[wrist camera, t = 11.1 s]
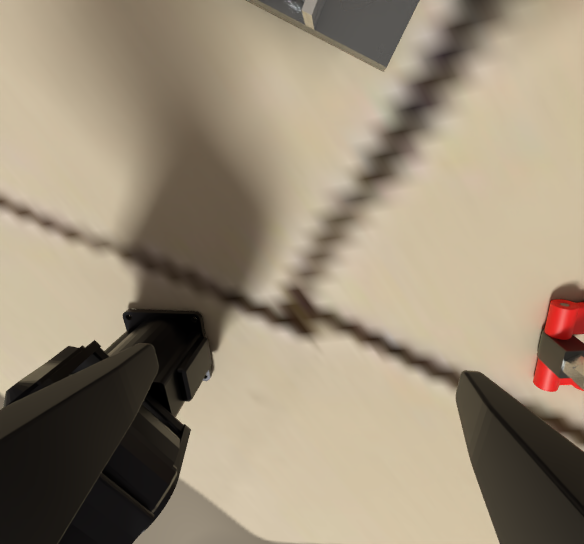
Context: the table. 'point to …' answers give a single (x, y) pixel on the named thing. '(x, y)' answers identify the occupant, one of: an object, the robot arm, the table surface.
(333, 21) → the grey fixture tray
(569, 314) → the tow hook
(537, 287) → the table surface
